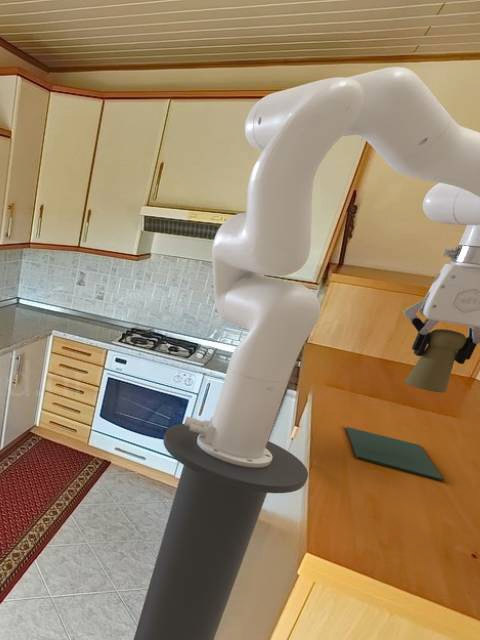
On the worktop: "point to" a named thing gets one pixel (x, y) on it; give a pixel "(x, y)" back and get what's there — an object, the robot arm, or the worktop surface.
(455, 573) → the worktop surface
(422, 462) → the side mat
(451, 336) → the cork
